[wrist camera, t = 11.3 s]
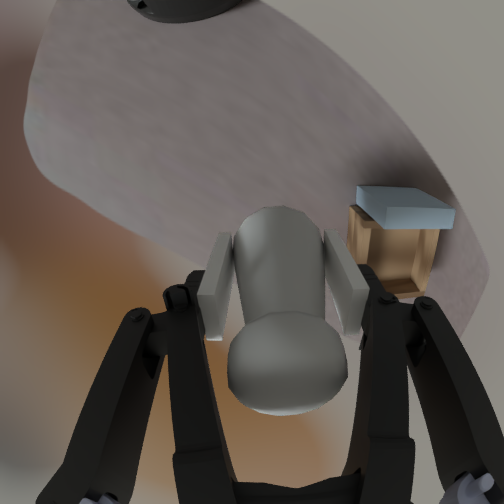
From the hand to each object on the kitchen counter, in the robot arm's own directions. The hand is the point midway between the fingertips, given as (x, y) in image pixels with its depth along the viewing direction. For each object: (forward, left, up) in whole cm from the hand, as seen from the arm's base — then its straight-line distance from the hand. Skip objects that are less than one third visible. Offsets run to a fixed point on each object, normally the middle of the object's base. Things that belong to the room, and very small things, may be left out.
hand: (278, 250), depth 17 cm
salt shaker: (0, 0, -3) cm, 3 cm away
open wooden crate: (+6, +13, -13) cm, 19 cm away
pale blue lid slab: (0, +13, -13) cm, 18 cm away
